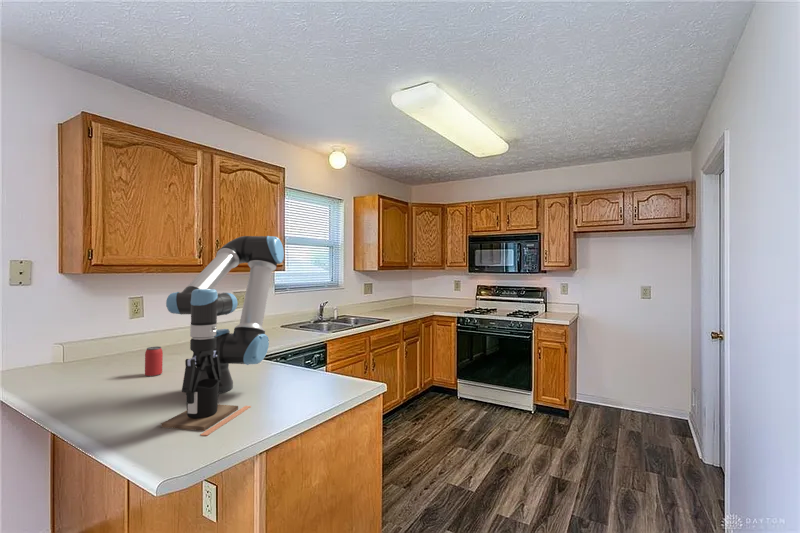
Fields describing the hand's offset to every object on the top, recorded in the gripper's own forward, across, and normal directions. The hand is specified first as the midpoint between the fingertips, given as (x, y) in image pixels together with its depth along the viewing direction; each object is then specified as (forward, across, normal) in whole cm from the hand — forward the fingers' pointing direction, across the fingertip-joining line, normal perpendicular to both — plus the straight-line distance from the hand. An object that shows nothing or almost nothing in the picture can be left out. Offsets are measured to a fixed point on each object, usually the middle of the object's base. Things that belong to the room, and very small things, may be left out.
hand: (202, 407), depth 125 cm
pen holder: (+2, 0, 0) cm, 2 cm away
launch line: (+3, 0, -9) cm, 10 cm away
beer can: (+4, +41, +53) cm, 67 cm away
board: (+3, 0, 0) cm, 3 cm away
